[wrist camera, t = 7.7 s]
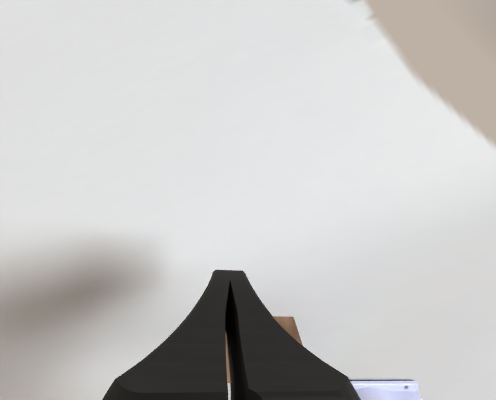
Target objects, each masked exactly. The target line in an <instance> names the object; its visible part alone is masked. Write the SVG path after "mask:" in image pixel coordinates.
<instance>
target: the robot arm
mask: <svg viewBox="0 0 496 400" xmlns="http://www.w3.org/2000/svg"><path fill="white" fill-rule="evenodd" d="M225 334H226V336H227V348H228V359H229V371H230V384H231V400H423V399H422V397H421V396H420V394H419V393H418V392H417V391H418V388H419V384H418V383H417V382H416V381H350V380H349V378H348V377H347V376H345V375H344V374H342V373H341V372H339V371H338V370H336V369H334V368H333V367H331V366H330V365H328V364H326V363H325V362H323V361H322V360H320V359H319V358H318V357H316V356H315V355H314V354H312V353H311V352H310V351H308V350H307V349H306V348H305V347H303V346H302V345H301V344H300V343H299V342H298V341H296V340H295V339H294V338H293V337H292V336H291V335H290V334H289V333H288V332H287V331H286V330H284V328H283V327H282V326H281V325H280V324H279V323H278V322H277V321H276V320H275V319H274V317H273V316H272V315H271V314H270V312H269V311H268V310H267V308H266V307H265V306H264V304H263V303H262V302H261V300H260V299H259V297H258V296H257V294H256V293H255V291H254V289H253V288H252V286H251V284H250V282H249V281H248V279H247V277H246V274H245V273H244V272H243V271H232V270H215V271H214V272H213V274H212V277H211V280H210V282H209V284H208V286H207V288H206V289H205V291H204V293H203V295H202V296H201V298H200V300H199V301H198V302H197V304H196V305H195V307H194V308H193V310H192V311H191V312H190V314H189V315H188V316H187V317H186V319H185V320H184V321H183V322H182V323H181V324H180V326H179V327H178V328H177V329H176V330H175V331H174V332H173V333H172V334H171V335H170V336H169V337H168V338H167V339H166V340H165V341H164V342H163V343H162V344H161V345H160V346H158V347H157V348H156V349H155V350H154V351H153V352H151V353H150V354H149V355H148V356H147V357H146V358H144V359H143V360H142V361H140V362H139V363H138V364H136V365H135V366H134V367H132V368H131V369H129V370H128V371H126V372H125V373H124V374H122V375H121V376H119V377H118V378H116V379H115V380H114V382H113V383H112V385H111V386H110V388H109V390H108V391H107V393H106V394H105V396H104V398H103V400H228V386H227V368H226V338H225Z"/></svg>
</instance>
